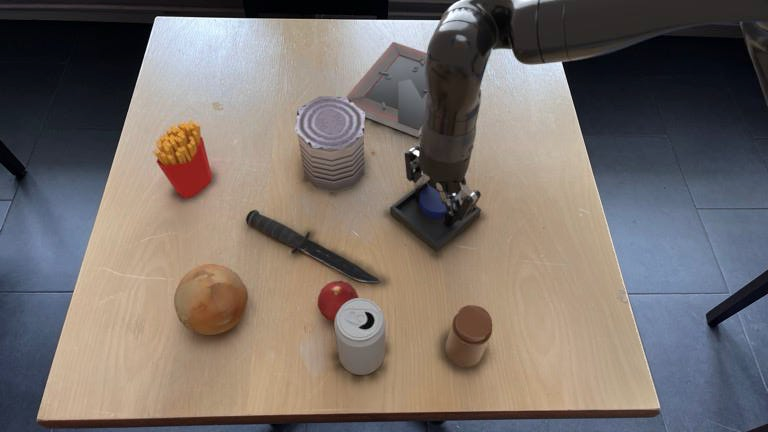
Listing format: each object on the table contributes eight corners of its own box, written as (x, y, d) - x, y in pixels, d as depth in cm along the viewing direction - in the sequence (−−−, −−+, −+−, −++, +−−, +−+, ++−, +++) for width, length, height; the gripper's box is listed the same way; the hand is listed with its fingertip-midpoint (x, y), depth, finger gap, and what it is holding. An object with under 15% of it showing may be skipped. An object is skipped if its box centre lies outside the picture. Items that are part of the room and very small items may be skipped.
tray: (479, 216, 88) (481, 209, 86) (436, 253, 84) (437, 246, 82) (432, 180, 92) (434, 173, 91) (390, 214, 88) (390, 206, 86)
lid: (411, 204, 86) (412, 197, 84) (435, 185, 88) (436, 178, 87) (437, 225, 83) (438, 218, 82) (461, 205, 86) (463, 198, 84)
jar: (489, 350, 74) (503, 321, 66) (465, 375, 72) (476, 348, 64) (461, 325, 76) (471, 295, 68) (437, 349, 74) (445, 320, 66)
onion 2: (330, 290, 79) (326, 263, 73) (365, 302, 78) (364, 276, 72) (313, 322, 76) (307, 297, 70) (349, 336, 75) (347, 312, 68)
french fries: (185, 204, 88) (162, 156, 79) (169, 193, 90) (144, 144, 80) (221, 173, 93) (203, 124, 83) (205, 163, 94) (186, 114, 84)
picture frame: (418, 139, 98) (462, 74, 110) (418, 129, 96) (463, 64, 108) (342, 110, 103) (392, 50, 114) (342, 100, 101) (393, 40, 112)
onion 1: (171, 330, 75) (146, 298, 67) (211, 275, 80) (193, 239, 72) (227, 357, 73) (209, 327, 65) (265, 299, 78) (253, 264, 70)
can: (365, 144, 97) (364, 94, 88) (367, 191, 91) (366, 143, 81) (303, 146, 97) (296, 96, 87) (301, 194, 90) (293, 146, 80)
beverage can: (375, 383, 71) (376, 349, 61) (332, 368, 72) (325, 333, 62) (390, 341, 75) (392, 303, 65) (348, 327, 76) (344, 288, 66)
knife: (242, 225, 85) (245, 210, 84) (261, 217, 89) (264, 204, 88) (365, 299, 77) (371, 284, 76) (380, 287, 81) (385, 273, 80)
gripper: (392, 128, 75) (389, 199, 89) (468, 184, 69) (452, 251, 83) (428, 103, 78) (419, 176, 92) (503, 155, 72) (482, 225, 86)
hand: (435, 211), depth 87 cm, fingers closed on lid, 5 cm apart
